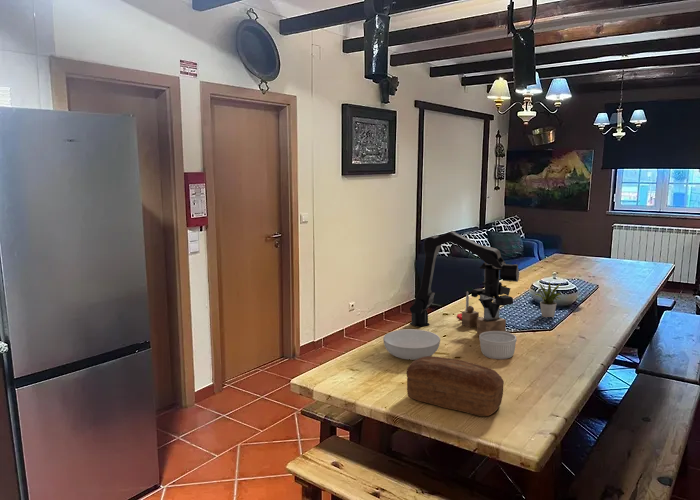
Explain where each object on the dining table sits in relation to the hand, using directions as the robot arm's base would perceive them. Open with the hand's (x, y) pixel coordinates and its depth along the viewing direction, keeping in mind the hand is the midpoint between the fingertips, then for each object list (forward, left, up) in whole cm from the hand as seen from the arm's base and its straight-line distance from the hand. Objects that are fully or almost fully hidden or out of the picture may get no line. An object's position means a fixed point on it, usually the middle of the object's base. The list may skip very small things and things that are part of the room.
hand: (491, 316), depth 216 cm
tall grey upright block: (0, 0, -2) cm, 2 cm away
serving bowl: (-41, -3, -7) cm, 42 cm away
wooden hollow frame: (0, +6, -7) cm, 9 cm away
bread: (-53, -41, -7) cm, 68 cm away
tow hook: (+7, +23, -7) cm, 25 cm away
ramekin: (-14, -19, -7) cm, 25 cm away
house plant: (+37, +5, -7) cm, 38 cm away
